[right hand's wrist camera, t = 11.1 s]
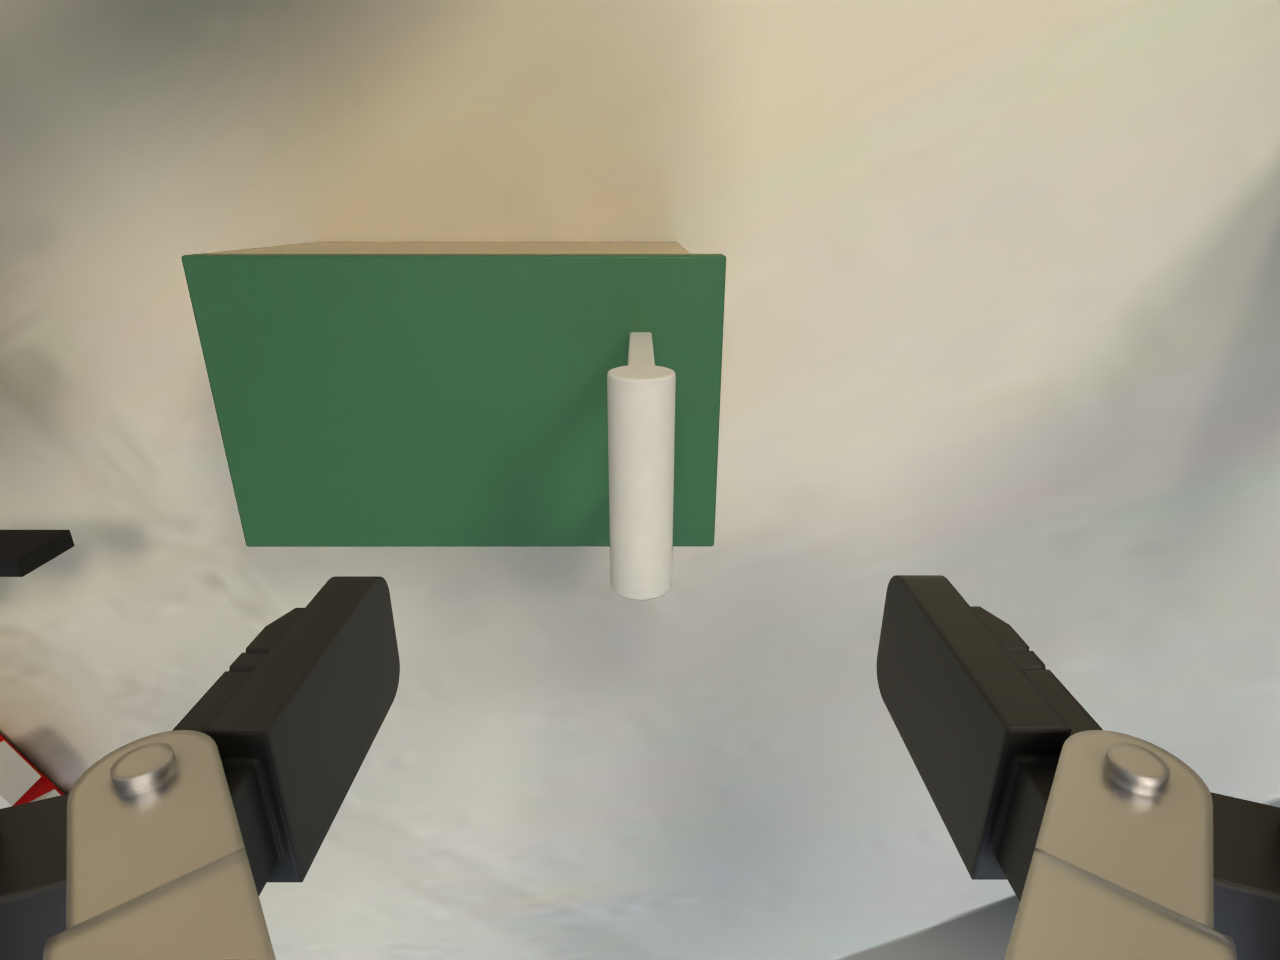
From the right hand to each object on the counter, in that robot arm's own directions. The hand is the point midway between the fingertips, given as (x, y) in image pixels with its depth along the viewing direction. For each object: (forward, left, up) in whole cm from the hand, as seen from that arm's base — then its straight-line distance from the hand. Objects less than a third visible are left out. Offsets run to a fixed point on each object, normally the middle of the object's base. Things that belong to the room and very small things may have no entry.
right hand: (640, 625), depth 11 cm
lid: (+1, -6, -14) cm, 15 cm away
